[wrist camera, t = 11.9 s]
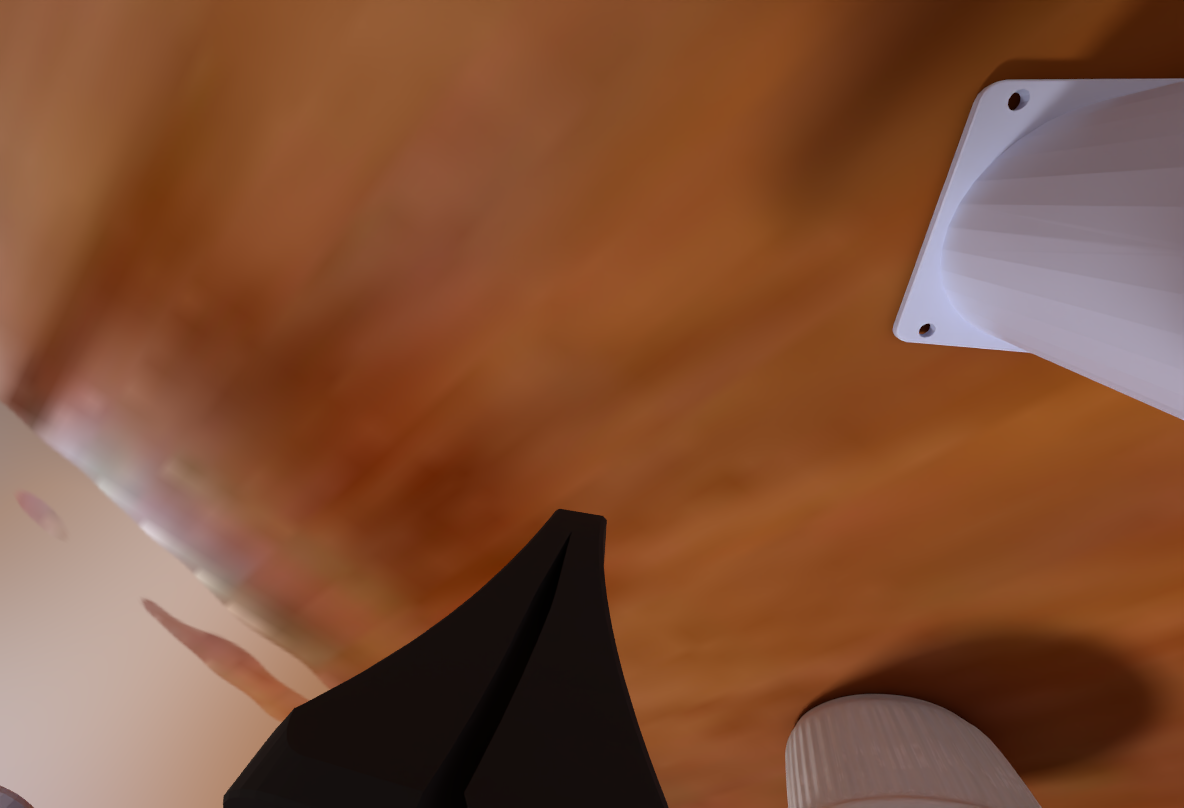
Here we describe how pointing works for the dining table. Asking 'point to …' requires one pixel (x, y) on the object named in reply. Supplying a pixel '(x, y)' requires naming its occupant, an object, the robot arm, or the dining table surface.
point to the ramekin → (896, 758)
